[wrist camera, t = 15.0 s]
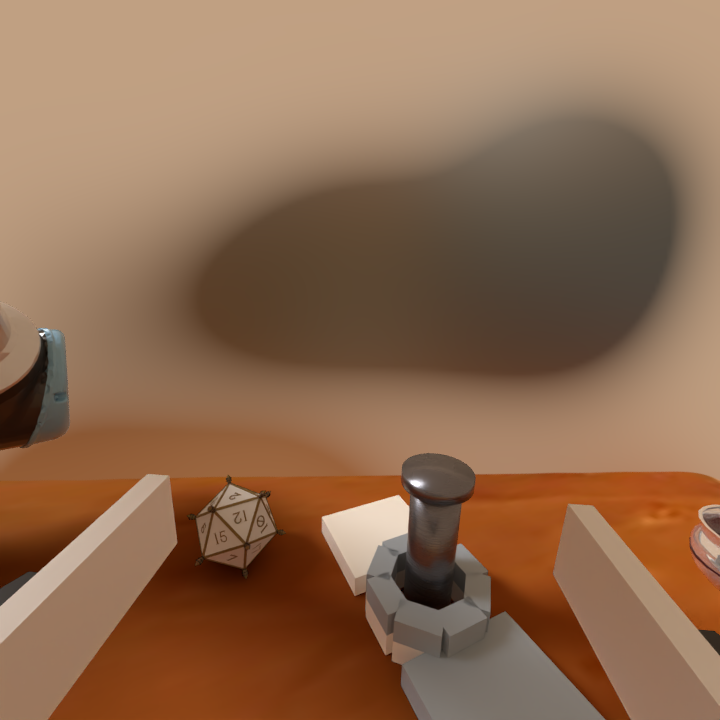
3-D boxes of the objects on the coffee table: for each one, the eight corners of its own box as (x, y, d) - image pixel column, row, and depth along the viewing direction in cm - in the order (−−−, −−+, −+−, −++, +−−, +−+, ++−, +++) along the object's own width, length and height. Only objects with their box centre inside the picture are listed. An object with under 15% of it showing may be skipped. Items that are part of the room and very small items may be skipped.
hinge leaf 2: (350, 587, 34) (351, 552, 33) (436, 554, 38) (439, 522, 37) (493, 865, 18) (503, 814, 17) (613, 757, 23) (626, 711, 22)
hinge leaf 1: (321, 532, 41) (321, 517, 41) (397, 509, 45) (398, 495, 45) (408, 699, 25) (409, 678, 25) (511, 640, 30) (514, 621, 29)
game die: (229, 577, 39) (214, 483, 42) (302, 554, 39) (281, 461, 42) (176, 609, 31) (161, 489, 34) (268, 581, 30) (245, 462, 33)
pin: (382, 598, 33) (388, 461, 30) (432, 577, 35) (444, 448, 32) (416, 657, 28) (429, 501, 25) (472, 628, 31) (491, 482, 27)
